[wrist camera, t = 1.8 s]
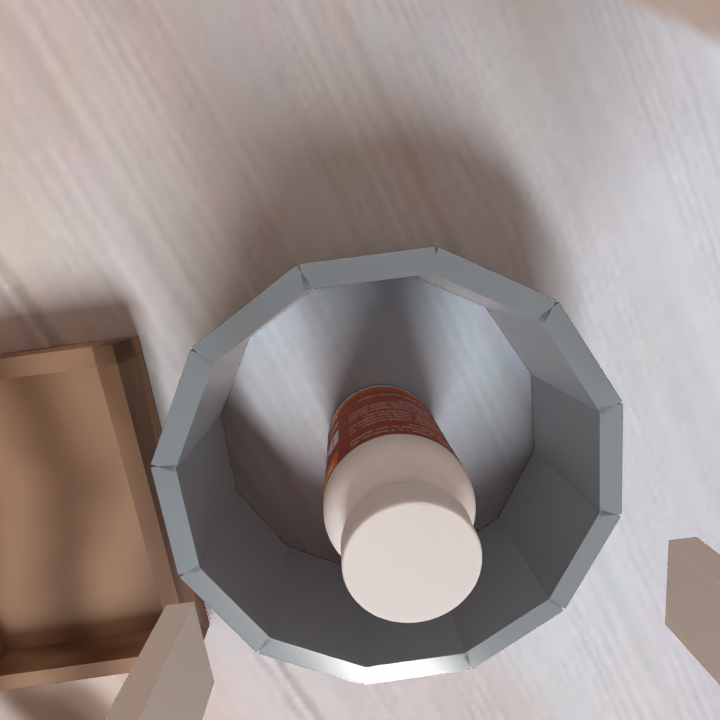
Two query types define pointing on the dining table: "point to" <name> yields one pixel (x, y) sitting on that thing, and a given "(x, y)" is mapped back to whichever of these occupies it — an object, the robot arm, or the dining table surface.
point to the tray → (80, 514)
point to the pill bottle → (399, 508)
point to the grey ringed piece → (498, 539)
